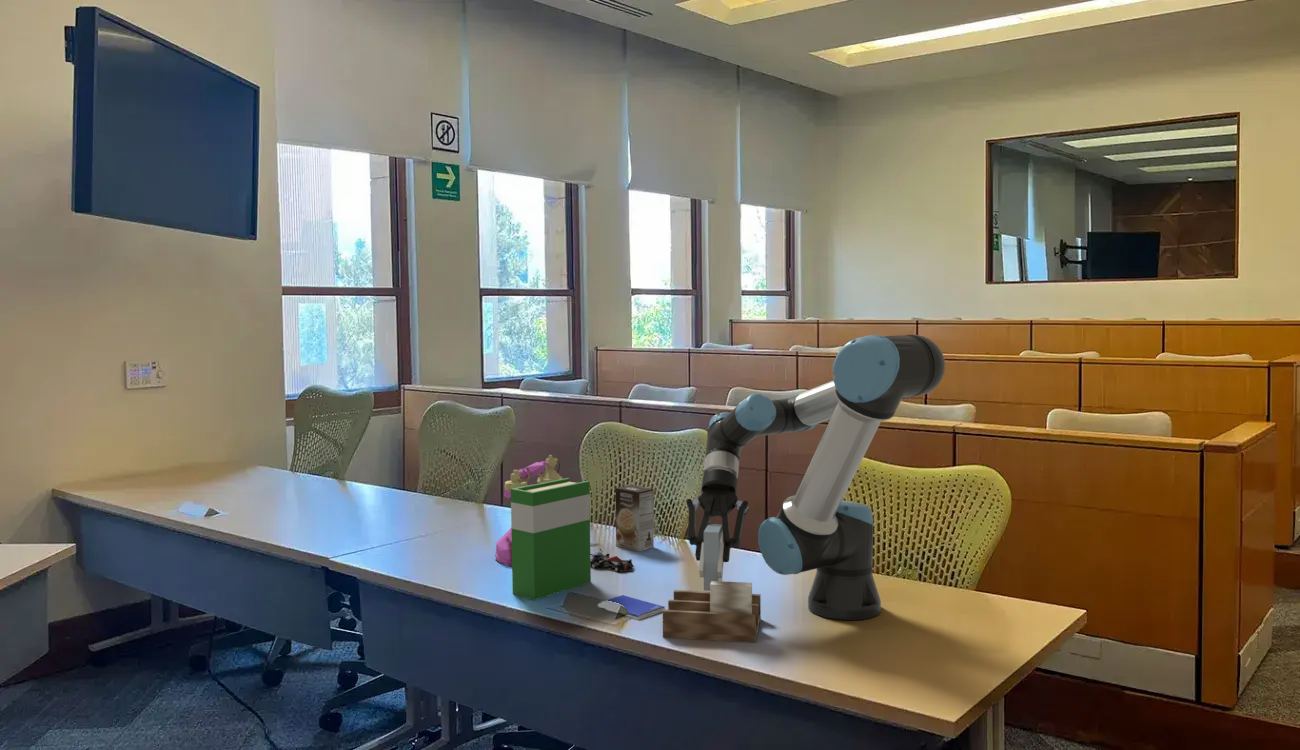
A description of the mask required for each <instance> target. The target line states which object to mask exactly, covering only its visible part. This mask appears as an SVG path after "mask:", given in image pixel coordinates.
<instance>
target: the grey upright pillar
mask: <svg viewBox="0 0 1300 750" xmlns="http://www.w3.org/2000/svg"><path fill="white" fill-rule="evenodd" d="M720 543H724V537H723V525H722V524H718V523H710V524H708V525H707V527H706V529H705V530H704V577H703V592H710V583H711V581H723V577H722V578H718V573H717V570H718V560H719V549H720Z"/></svg>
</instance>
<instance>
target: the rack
mask: <svg viewBox="0 0 1300 750" xmlns="http://www.w3.org/2000/svg"><path fill="white" fill-rule="evenodd" d="M761 599H762V597H761V594H759V593H753V583H752V582H746V581H745V582H744V581H743V582H742V581H723V580H722V581H711V583H710V591H704V590H703V591H701V590H700V591H699V590H683V589H682V590H678V589H674V590H673V599H668V600H667V601H668V602H667V603H668V604H667V606H668V609H665V610H663V612H662V638H671V639H672V638H673V639H684V640H685V639H688V640H689V639H690V640H705V641H707V640H708V641H719V642H721V641H722V642H741V643H756V640H757V635H758V631H759V627H760V623H761V616H762V614H761V611H762V609H761V608H762V607H761V606H762V605H761V601H762V600H761Z"/></svg>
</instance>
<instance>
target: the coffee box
mask: <svg viewBox="0 0 1300 750" xmlns="http://www.w3.org/2000/svg"><path fill="white" fill-rule="evenodd" d="M654 489H655V488H650V487H644V486H640V485H635V484H628V485H623V486H619V487H615V489H614V490H615V546H616V547H621V548H624V549H627V550H631V551H637V552H641V551H645V550H649V549H652V548H655V545H654V543H655V542H654V541H655V539H654V538H655V537H654V534H655V533H654V529H655V527H654V523H655V522H654V521H655V520H654V519H655V515H654V514H655V508H654V502H655V501H654V500H655V499H654V497H655V493H654V492H655V490H654Z"/></svg>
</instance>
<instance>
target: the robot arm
mask: <svg viewBox="0 0 1300 750" xmlns="http://www.w3.org/2000/svg"><path fill="white" fill-rule="evenodd" d="M945 371H946V361H945V355H944V354H943V351H942V350H941V348H940V347H939V346H938V344H937V343H936V342H934V341H932V339H930V338H928V337H925V336H923V335H919V334H905V335H904V334H902V335H901V334H900V335H899V334H898V335H878V334H870V335H865V336H862V337H857V338H854V339H852V340H850V341H848V342H847V343H846V344H844V345H843V346H842V347H841V348H840V349H839V351H838V353H837V354H836V357H835V359H834V362H833V366H832V374H834V377H833V378H832V380H831V381H828V382H826V383H824V384H821V385H818V386H815V387H814V388H811V389H809V390H806V391H804V392H801V393H800V394H796V395H793V396H791V397H788V398H781V399H770V397H768V396H766V395H762V394H761V393H752V394H750V395H749V396H747V397H746V398H744V399H743V400H742V401H740V402H739V403H738V405H736V406H735V408H733V409H732V410H731V411H730V412H726V411H725V412H720V414H718V413H717V414H715V415H713V416H712V417H711V418H710V420H709V425H708V428H707V431H706V432H707V435H706V446H705V447H706V448H705V458H704V464H703V472H702V474H703V476H702V481H701V491H700V493H699V494H698V496H697V498H694V499H691V498H687V499H686V501H685V503H686V506H687V510H688V528H687V529H688V531H687V533H688V534H687V535H688V541H689V544H690V545H691V546H695V553H694V555H695V559H696V561H697V562H698V561H699V564H698V573H699V574H698V575H699V578H704V530H705V529H706V527H707V525H708V524H711V522H712V520H713V518H714V517H721V522H722V525H723V543H720V549H719V560H718V570H717V573H718V578H722V579H723V574H724V563H729V562H730V556H731V555H730V554H731V549H733V548H738V547H740V543H741V541H742V538H741V537H742V533H743V528H744V522H745V517H746V515H747V514H748V512H749V510H750V507H749V502H748V500H739V497H738V495H737V494H738V493H737V492H738V476H739V468H740V457H741V451H742V449H743V448H744V447H745V446H746V445H748V444H749V443H750V442H751V441H753V439H755V438H757V437H760V436H761V437H762V436H771V435H779V434H786V433H802V432H806V431H810V430H814V428H816V426H817V425H819V424H821V423H824V422H826V421H828V424H827V426H826V428H825V431H824V433H823V434H822V437H821V439H820V441H819V442H818V443H819V444H818V446H817V447H816V450H815V452H814V454H813V456H812V458H811V461H810V463H809V465H808V467H807V470H806V471H805V474H804V476H803V478H802V480H801V482H800V485H799V487H798V489H797V491H796V493H795V495H790V496H788V497H786V499H784V501H783V502H782V506H781V507H780V510H779V511H778V514H777V515H776V516H771V517H768V518H767V519H765V520H764V521H763V522H762V523H760V526H759V529H758V531H757V532H758V534H757V538H758V539H757V541H758V547H759V549H760V553H761V556H762V558H763V560H764V562H765V563H766V564H767V566H768V567H769V569H771V570H772V571H773V572H775V574H779V575H783V576H786V575H787V576H789V575H798V574H801V573H805V572H809V571H811V570H816V573H815V576H814V578H813V582H812V584H811V588H810V591H809V594H808V597H807V598H808V600H807V602H808V605H807V606H808V610H809V611H810V612H811V613H813V614H815V615H817V616H820V617H824V618H828V619H832V620H833V619H834V620H841V621H842V620H844V621H859V620H867V619H871V618H874V617H876V616H878V615H880V614H881V609H882V608H881V607H882V601H881V597H880V595H879V591H878V588H877V585H876V582H875V577H874V574H873V573H874V572H873V565H874V564H873V561H874V560H873V556H874V526H875V524H874V521H873V519H874V517H873V510H872V509H871V507H869V505H867V504H864V503H860V502H855V501H850V500H844V497H845V495H846V493H847V492H848V489H849V487H850V486H851V483H852V482H853V480H854V478H855V475H856V473H857V471H858V469H859V468H860V465H861V463H862V461H863V459H864V457H865V455H866V453H867V451H868V448H869V447H870V445H871V443H872V441H873V439H874V436H876V435H875V434H876V432H877V431H878V428H879V427H880V424H881V423H882V422H884V421H888V420H891V419H892V418H893V417H894V415H895V413H896V412H897V409H898V407H899V405H900V403H901V401H904V400H906V399H910V398H914V397H919V396H924V395H927V394H929V393H931V392H932V391H934V390H935V389H936V388H937V387H938V386H939V385H940V384H941V382H942V380H943V378H944V376H945ZM699 505H700V507H701V508H702V510H703V516H702V520H701V524H700V527H699V530H698V533H697V535H696V531H697V529H696V528H697V527H696V525H697V523H696V521H697V520H696V519H697V515H696V511H697V510H698V508H699V507H698V506H699ZM735 508H736V510H737V513H736V514H737V515H736V520H735V523H734V524H735V525H734V530H733V536H732V538H731V537H730V525H729V524H730V523H729V522H730V521H729V514H730V513H731V512H732V511H733V509H735Z"/></svg>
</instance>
